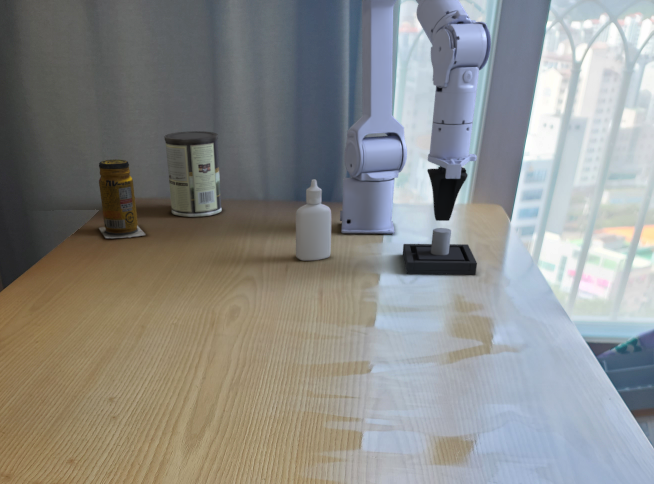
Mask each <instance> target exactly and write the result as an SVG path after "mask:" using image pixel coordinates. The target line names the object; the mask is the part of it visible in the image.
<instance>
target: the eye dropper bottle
mask: <svg viewBox="0 0 654 484" xmlns="http://www.w3.org/2000/svg"><path fill="white" fill-rule="evenodd" d="M305 189H306V191H305V203H306V204H304V205H301V206H300V207H298V209H297V210H296V212H295V257H296V258H297V259H298V260H300V261H302V262H303V261H305V262H308V261H311V262H312V261H319V260H325V259H327V258H330V256H331V250H332V247H331V246H332V210H331V208H330V207H329V206H328V205H326V204H323V203H322V195H323V194H322V193H323V190H322V188H320V187H319V186H318V181H317V179H311V182H310V186H309V187H308V188H305Z"/></svg>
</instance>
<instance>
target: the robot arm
mask: <svg viewBox="0 0 654 484" xmlns="http://www.w3.org/2000/svg"><path fill="white" fill-rule="evenodd" d="M397 1H398V0H361V48H362V49H361V76H362V77H361V82H362V83H361V84H362V85H361V87H362V89H361V90H362V91H361V93H362V94H361V97H362V104H361V105H362V106H361V107H362V111H361V112H362V114H361V116H360V118H358V119H357V120H356V122H354V123H353V124H352V125H351V126H350V127H349V128H348V130H347V131H346V132H347V133H346V143H345V148H344V158H343V160H344V166H345V169H346V171H347V173H348V174H349V176H350V177H343V179H342V202H341V203H342V204H341V205H342V209H341V210H340V211H339V221H340V222H341V233H342V234H388V235H390V234H394V233H395V227H394V221H393V206H394V194H395V193H394V191H395V179H397V178H399V173H401V172H402V171H403V170H404V168H405V166H406V164H407V159H408V148H407V143H406V137H405V136H406V135H405V127H404V125H403V124H402V123H400V122H399V121H398V120H397V119H396V118H395V117H394V116H393V61H394V59H393V57H394V56H393V53H394V52H393V51H394V49H393V48H394V47H393V46H394V43H393V42H394V6H395V5H396V3H397ZM415 1H416V3H417V7H416V19H417V21H418V22H419V25H420V26H421V28H422V30H423V31H424V33H425V35H426V37H427V39H428V41H429V42H430V44H431V47H430V61H431V66H432V85H433V86H435V91H434V92H435V93H434V101H433V102H434V103H433V112H432V113H433V114H432V124H431V134H430V146H429V153H428V155H427V161H428V162H429V163H431V164H434V165H436V166H438V168H427V170H426V171H427V174H428V177H429V181H430V184H431V189H432V200H433V203H432V204H433V214H434V219H435V221H436V222H438V221H439V222H449V221H450V219H451V217H452V215H453V211H454V208H455V204H456V201H457V198H458V195H459V193H460V191H461V189H462V186H463V185H464V183H465V182H466V180H467V178H468V175H469V174H468V172H467V169H466V168H465V167H464V166H465V165H467V164H468V163H470V162H476V161H477V159H478V156H477V154H476V153H470V149H471V148H470V147H471V140H472V134H473V133H472V132H473V124H474V116H475V107H476V99H477V91H478V82H479V74H480V71H481V70H482V69H484V68H485V66H486V65H487V63H488V61H489V59H490V54H491V49H492V36H491V35H492V34H491V32H490V29H489V26H488V25H487V23H486V22H484V21H476V19H471V18H470V16H469V15H468V12H467V11H466V10H465V8H464V7H463V4H462V3H461V1H460V0H415ZM372 134H375V135H376V134H385V135H379V136H378V135H377V136H367V135H372Z"/></svg>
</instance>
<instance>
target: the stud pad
mask: <svg viewBox="0 0 654 484" xmlns="http://www.w3.org/2000/svg"><path fill="white" fill-rule="evenodd" d="M431 235H432V236H431V244H432V245H431V247H416V251H415V255H416V259H417V261H465V259H464V257H463V255H462V252H461V250H460V248H459V247H449V246H450V244H451V237H452V229H450V228H446V227H436V228H433V229H432V234H431Z"/></svg>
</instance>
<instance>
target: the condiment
mask: <svg viewBox="0 0 654 484" xmlns="http://www.w3.org/2000/svg"><path fill="white" fill-rule="evenodd" d="M98 168H99V176H100V177H99V180H98V186H99V193H100V201H101V209H102V214H103V224H104V226H102V227H98V229H99V231H100V233H101V234H102V235H103V237H104V238H105V239H123V238H133V237H141V236H142V237H143V236H146V233H145V232H144V230H142V228H140V226H139V223H138V213H137V212H138V211H137V206H136V196H135V188H134V179H133V177H132V176H131V170H130V163H129V161H128V160H126V159H105V160H102V161H99V163H98Z"/></svg>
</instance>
